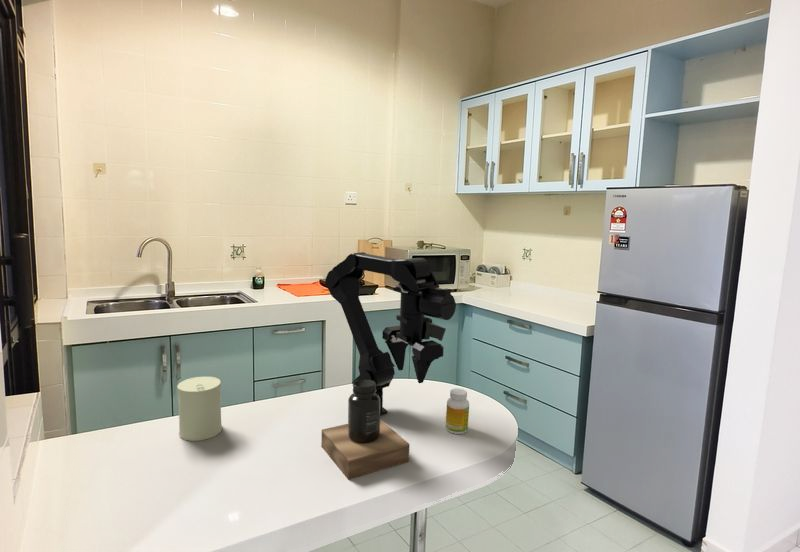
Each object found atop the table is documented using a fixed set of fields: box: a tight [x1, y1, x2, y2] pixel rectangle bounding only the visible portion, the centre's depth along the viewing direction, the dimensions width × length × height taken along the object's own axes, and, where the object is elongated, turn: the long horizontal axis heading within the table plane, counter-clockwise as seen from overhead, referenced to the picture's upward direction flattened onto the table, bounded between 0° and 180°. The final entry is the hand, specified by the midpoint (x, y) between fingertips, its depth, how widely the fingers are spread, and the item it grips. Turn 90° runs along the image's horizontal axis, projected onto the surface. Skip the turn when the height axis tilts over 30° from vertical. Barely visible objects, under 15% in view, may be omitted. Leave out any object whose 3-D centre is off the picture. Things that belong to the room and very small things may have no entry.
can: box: [176, 376, 223, 442], centre depth 109 cm, size 9×9×12 cm
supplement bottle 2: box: [445, 387, 470, 435], centre depth 115 cm, size 5×5×10 cm
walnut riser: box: [321, 418, 411, 480], centre depth 103 cm, size 14×14×4 cm
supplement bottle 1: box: [347, 379, 381, 443], centre depth 102 cm, size 7×7×12 cm
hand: (410, 376), depth 114 cm, fingers open, 9 cm apart
